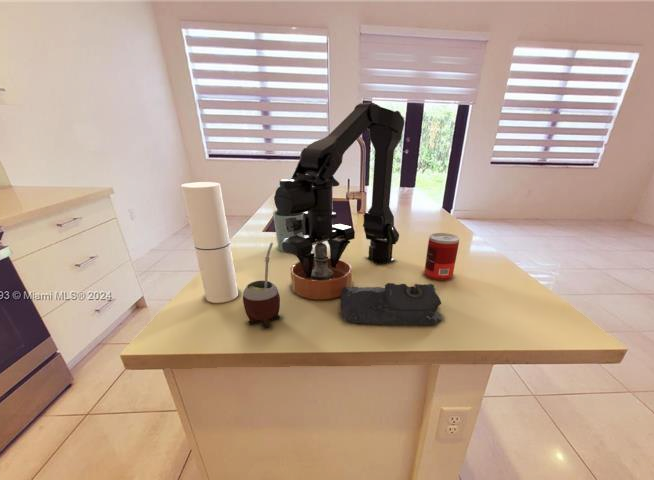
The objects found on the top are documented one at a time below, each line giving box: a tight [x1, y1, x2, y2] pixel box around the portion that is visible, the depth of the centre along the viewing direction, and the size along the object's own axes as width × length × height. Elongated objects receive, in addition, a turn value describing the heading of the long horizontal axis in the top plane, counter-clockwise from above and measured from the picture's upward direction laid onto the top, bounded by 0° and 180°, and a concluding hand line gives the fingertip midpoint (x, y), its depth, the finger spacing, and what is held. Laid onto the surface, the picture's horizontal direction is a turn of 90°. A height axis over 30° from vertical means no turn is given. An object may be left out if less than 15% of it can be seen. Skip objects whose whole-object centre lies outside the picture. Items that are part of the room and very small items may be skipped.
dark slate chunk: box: [339, 282, 443, 327], centre depth 70 cm, size 15×22×5 cm
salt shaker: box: [311, 242, 333, 280], centre depth 77 cm, size 6×6×12 cm
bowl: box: [289, 257, 353, 300], centre depth 78 cm, size 15×15×5 cm
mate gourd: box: [242, 242, 281, 329], centre depth 62 cm, size 8×8×15 cm
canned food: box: [424, 232, 460, 281], centre depth 85 cm, size 8×8×11 cm
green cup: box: [272, 209, 305, 253], centre depth 102 cm, size 10×10×12 cm
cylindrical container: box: [180, 181, 239, 304], centre depth 68 cm, size 7×7×25 cm
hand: (321, 272), depth 78 cm, fingers closed on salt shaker, 8 cm apart
